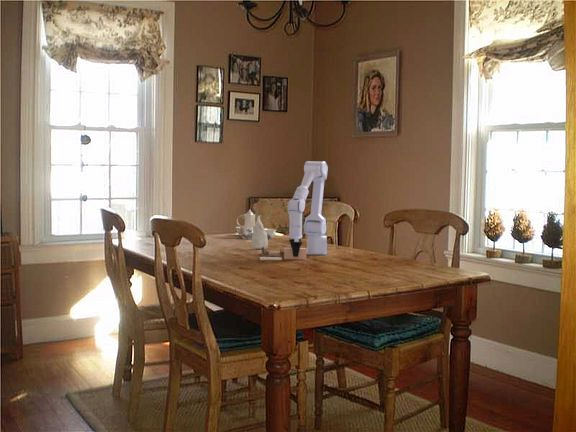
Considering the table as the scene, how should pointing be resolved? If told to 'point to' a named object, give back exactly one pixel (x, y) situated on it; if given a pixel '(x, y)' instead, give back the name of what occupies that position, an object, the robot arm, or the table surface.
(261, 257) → the fired strip
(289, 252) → the salmon pink block
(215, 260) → the table surface
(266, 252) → the rack
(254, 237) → the stone tool
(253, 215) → the chinaware
